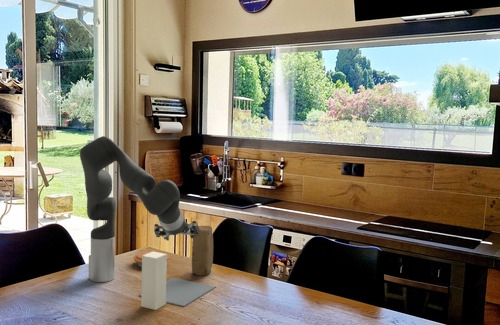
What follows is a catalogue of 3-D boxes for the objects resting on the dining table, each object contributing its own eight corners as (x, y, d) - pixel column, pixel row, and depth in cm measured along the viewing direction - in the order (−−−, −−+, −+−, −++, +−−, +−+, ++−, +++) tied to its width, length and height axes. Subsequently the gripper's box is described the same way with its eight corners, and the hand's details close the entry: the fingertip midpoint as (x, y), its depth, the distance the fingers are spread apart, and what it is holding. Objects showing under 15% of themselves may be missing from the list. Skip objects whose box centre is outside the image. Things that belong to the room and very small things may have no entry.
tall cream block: (141, 306, 159) (142, 255, 157) (152, 300, 164) (153, 251, 162) (155, 309, 156) (156, 258, 154) (165, 303, 161) (166, 254, 160)
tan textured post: (206, 277, 191) (207, 230, 189) (189, 275, 192) (190, 228, 191) (214, 269, 201) (215, 224, 199) (198, 267, 203) (199, 223, 201)
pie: (175, 265, 205) (175, 254, 205) (146, 272, 194) (146, 261, 193) (155, 257, 216) (155, 247, 215) (126, 264, 204) (126, 253, 204)
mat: (138, 295, 168) (138, 294, 168) (173, 278, 188) (173, 277, 188) (184, 306, 159) (184, 305, 159) (215, 287, 179) (215, 286, 179)
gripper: (194, 206, 146) (200, 225, 160) (149, 210, 146) (159, 228, 160) (194, 228, 143) (200, 245, 157) (148, 232, 142) (159, 249, 157)
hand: (180, 236), depth 159 cm, fingers open, 8 cm apart
